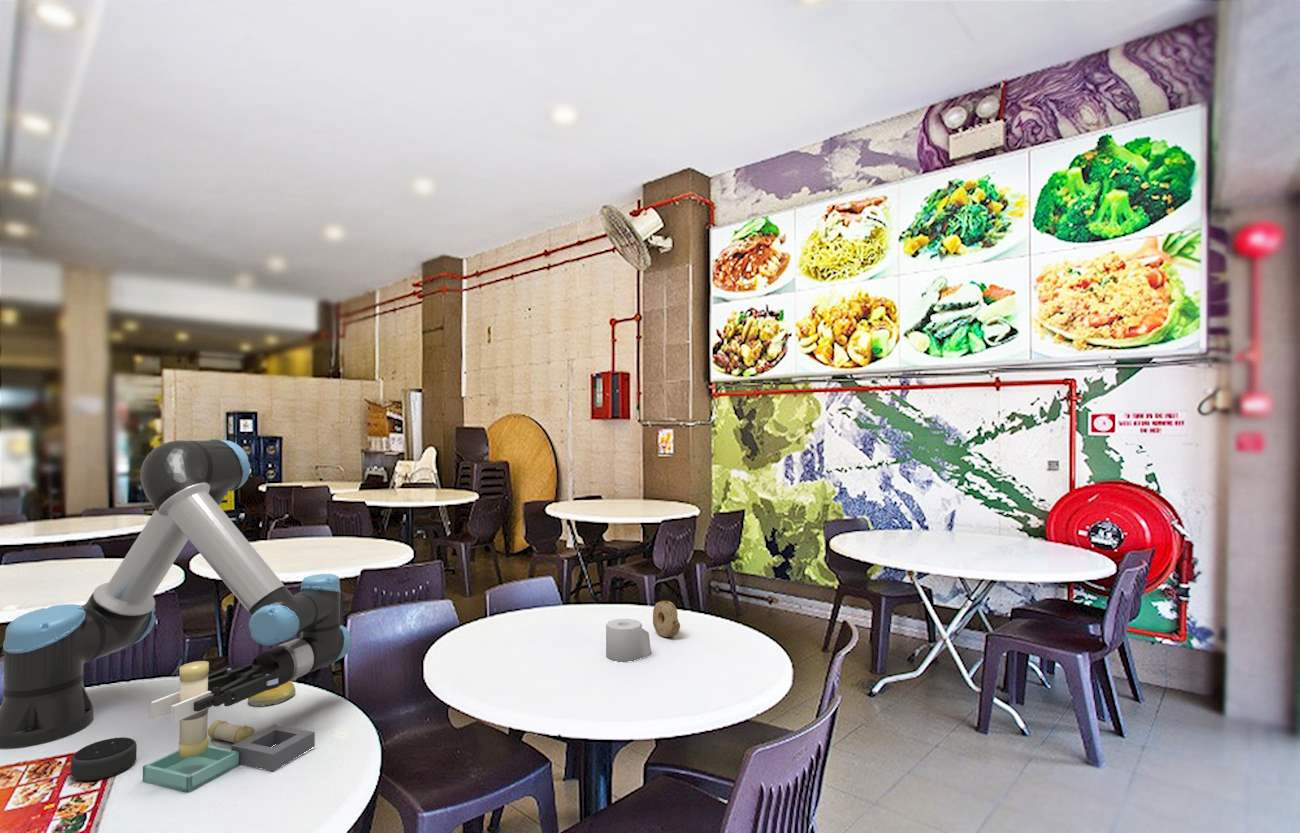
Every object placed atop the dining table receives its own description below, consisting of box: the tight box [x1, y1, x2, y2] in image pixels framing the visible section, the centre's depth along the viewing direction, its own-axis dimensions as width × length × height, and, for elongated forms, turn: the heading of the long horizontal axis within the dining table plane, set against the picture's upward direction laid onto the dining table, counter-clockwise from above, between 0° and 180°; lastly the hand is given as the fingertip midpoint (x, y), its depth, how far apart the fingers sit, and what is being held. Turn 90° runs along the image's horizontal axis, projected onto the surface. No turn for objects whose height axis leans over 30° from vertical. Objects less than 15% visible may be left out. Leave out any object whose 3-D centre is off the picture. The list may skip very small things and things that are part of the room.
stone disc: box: [652, 600, 681, 638], centre depth 189 cm, size 10×4×10 cm, turn 35°
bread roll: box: [247, 680, 296, 707], centre depth 144 cm, size 8×9×4 cm
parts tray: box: [142, 744, 240, 794], centre depth 113 cm, size 11×9×2 cm
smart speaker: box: [70, 736, 138, 782], centre depth 114 cm, size 9×9×4 cm
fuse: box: [207, 719, 256, 744], centre depth 125 cm, size 8×3×3 cm, turn 71°
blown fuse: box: [178, 660, 210, 758], centre depth 113 cm, size 4×4×15 cm
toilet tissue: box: [605, 618, 652, 663], centre depth 173 cm, size 9×13×9 cm
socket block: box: [230, 723, 316, 772], centre depth 119 cm, size 10×9×3 cm
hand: (162, 712), depth 108 cm, fingers closed on blown fuse, 4 cm apart
